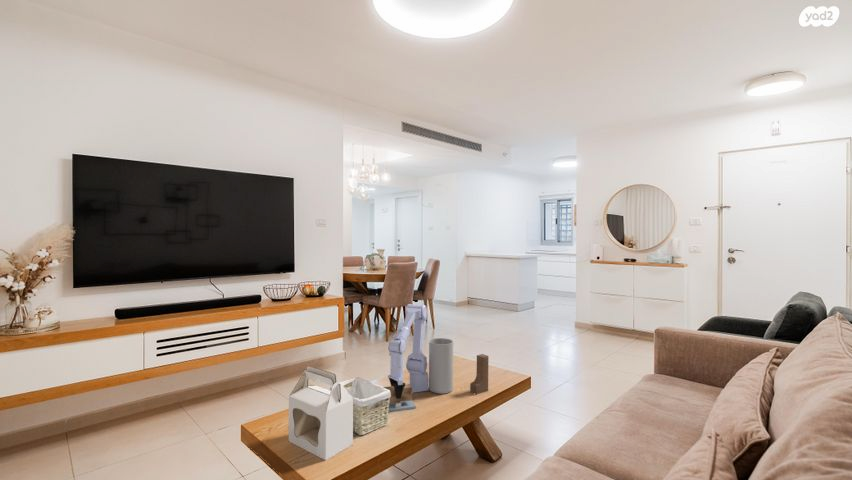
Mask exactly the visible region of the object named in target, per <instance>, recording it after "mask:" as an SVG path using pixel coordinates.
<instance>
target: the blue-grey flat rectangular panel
mask: <svg viewBox="0 0 852 480" xmlns="http://www.w3.org/2000/svg"><path fill="white" fill-rule="evenodd" d="M416 408H417V406H416V405H415V403H414V402H413V399H412V400H409V401H401V407H399V408H395V406H394V404H393V403H389V410H388V413H392V412H393V413H394V412H399V411H400V412H401V411H408V410H414V409H416Z"/></svg>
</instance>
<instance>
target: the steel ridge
mask: <svg viewBox="0 0 852 480" xmlns="http://www.w3.org/2000/svg"><path fill="white" fill-rule="evenodd" d="M393 404H394V406H395V408H399V407H401V402H393Z"/></svg>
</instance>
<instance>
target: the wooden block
mask: <svg viewBox="0 0 852 480" xmlns="http://www.w3.org/2000/svg"><path fill="white" fill-rule="evenodd" d="M486 390H488V391H489V355H487V354H484V353H481V354H477V355H476V376H475V379H474V380H473V381H471V382H470V385H469V391H470V393H472V394H474V393H475V394H474V395H479V394H482V393H484V392H483V391H485V392H487V391H486ZM481 392H482V393H481ZM478 393H479V394H478Z"/></svg>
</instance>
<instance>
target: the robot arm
mask: <svg viewBox="0 0 852 480" xmlns="http://www.w3.org/2000/svg"><path fill="white" fill-rule="evenodd" d="M427 318H428V309H427V306H426V305H425V304H423V305H422V304H413V303H408V304H407V305H406V307H405V318H404V320H403V323H402V325H401V326H399V327H398V329H397V331H396V334H395V335H394V338H393V339H391V340H390V341H389V342H388V347H387V348H388V349H387V351H388V353H389V357H390V369H389V370H390V373H389V374H388V375H387V379H388V380H389V384H390V386H394V389H395V395H396V399H399V398H401V396H402V391H403V389H404V387H405V385H406V383H405V382H403V381H404V352H405V350H406V345H407V339H408V338H409V336H410V333H411V332H410V328H411V327H412V325H413V326H414V327H413V338H412V350H411V351H412V353H409V355H408V356H407V359H406V363H405V367H406V370H407V371H408V372H407V373H409V384H410V385H411V387H412V394H413V393H419V392H420V393H421V392H428V391H430V390H429V372H428V371H427V368H428V362H427V356H426V355H425V354H424V353H422V352H423V342H424V341H423V340H424V338H423V337H424V325H425V322H426V321H427ZM413 323H414V324H413Z"/></svg>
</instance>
